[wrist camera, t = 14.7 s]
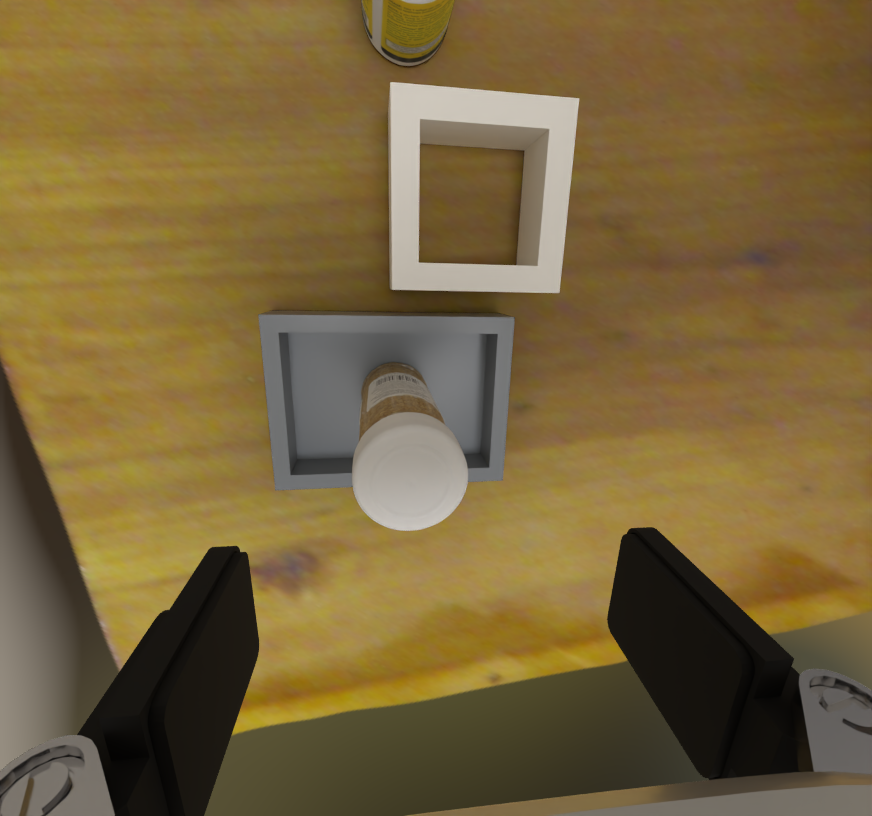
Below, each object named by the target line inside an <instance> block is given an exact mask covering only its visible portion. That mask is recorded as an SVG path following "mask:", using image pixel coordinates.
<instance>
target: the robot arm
mask: <svg viewBox="0 0 872 816" xmlns="http://www.w3.org/2000/svg"><path fill="white" fill-rule="evenodd" d="M607 620H608V626H609V629H610V632H611V634H612V635H613V637H614V639H615V640H616V642H617V643H618V645H619V647H620V648H621V650H622V651H623V653H624V655H625V656H626V658H627V659H628V661H629V663H630V664H631V666H632V667H633V669H634V671H635V672H636V674H637V675H638V677H639V678H640V680H641V682H642V683H643V685H644V687H645V688H646V690H647V691H648V693H649V695H650V696H651V698H652V699H653V701H654V703H655V704H656V706H657V707H658V709H659V711H660V712H661V714H662V715H663V717H664V718H665V720H666V722H667V723H668V725H669V726H670V728H671V730H672V731H673V733H674V734H675V736H676V738H677V739H678V741H679V742H680V744H681V746H682V747H683V749H684V750H685V752H686V754H687V755H688V757H689V758H690V760H691V762H692V763H693V765H694V766H695V768H696V769H697V771H698V772H699V773H700V774H701V775H702V776H703V777H705V778H709V780H706V781H697V782H689V783H680V784H671V785H662V786H653V787H644V788H635V789H626V790H617V791H608V792H599V793H591V794H582V795H574V796H566V797H557V798H548V799H540V800H532V801H523V802H514V803H506V804H498V805H489V806H481V807H472V808H464V809H456V810H447V811H439V812H432V813H423V814H415V815H407V816H872V690H870V689H868V688H867V687H865V686H863V685H862V684H860V683H859V682H857V681H854V680H852V679H850V678H848V677H846V676H843V675H841V674H838V673H835V672H832V671H828V670H822V669H810V670H805V671H804V672H803V673H802V674H801V675H799V673H798V672H797V671H796V670H795V669H793V668H792V667H791V666H792V663H793V660H794V658H793V657H791V655H789V653H787V652H786V651H785V650H784V649H783V648H782V647H781V646H780V645H779V644H778V643H777V642H776V641H775V640H773V638H772V637H770V636H769V635H768V634H767V633H766V632H765V631H764V630H763V629H762V628H761V627H760V626H759V625H758V624H757V623H756V622H755V621H753V620H752V619H751V618H750V617H749V616H748V615H747V614H746V613H745V612H744V611H743V610H742V609H741V608H740V607H739V606H738V605H736V604H735V603H734V602H733V601H732V600H731V599H730V598H729V597H728V596H727V595H726V594H725V593H724V592H723V591H722V590H721V589H719V588H718V587H717V586H716V585H715V584H714V583H713V582H712V581H711V580H710V579H709V578H708V577H707V576H706V575H705V574H704V573H702V572H701V571H700V570H699V569H698V568H697V567H696V566H695V565H694V564H693V563H692V562H691V561H690V560H689V559H688V558H687V557H685V556H684V555H683V554H682V553H681V552H680V551H679V550H678V549H677V548H676V547H675V546H674V545H673V544H672V543H671V542H670V541H668V540H667V539H666V538H665V537H664V536H663V535H662V534H661V533H660V532H659V531H658V530H657V529H655V528H652V527H647V528H631V529H629V531H628V532H627V534H625V535H623V537H622V539H621V544H620V550H619V556H618V561H617V567H616V572H615V578H614V583H613V589H612V595H611V600H610V606H609V611H608V619H607ZM258 652H259V637H258V629H257V622H256V614H255V606H254V598H253V591H252V583H251V575H250V567H249V560H248V555H247V553H246V552H240V549H239V547H237V546H227V547H212V548H210V549H209V550H208V552H207V553H206V555H205V556H204V558H203V559H202V561H201V562H200V564H199V565H198V567H197V568H196V570H195V571H194V573H193V575H192V576H191V578H190V579H189V581H188V582H187V584H186V585H185V587H184V588H183V590H182V591H181V593H180V594H179V596H178V598H177V599H176V601H175V602H174V604H173V605H172V607H171V608H170V610H165V611H163V612H162V613H160V614H159V615H158V616H157V618H156V619H155V620H154V622H153V623H152V625H151V626H150V628H149V629H148V631H147V632H146V634H145V635H144V637H143V638H142V639H141V641H140V642H139V644H138V645H137V647H136V648H135V650H134V651H133V653H132V654H131V656H130V657H129V659H128V660H127V662H126V663H125V665H124V666H123V668H122V669H121V671H120V672H119V674H118V675H117V677H116V678H115V679H114V681H113V683H112V684H111V685H110V687H109V688H108V690H107V691H106V693H105V694H104V696H103V697H102V699H101V700H100V702H99V703H98V705H97V706H96V708H95V709H94V711H93V712H92V714H91V715H90V716H89V718H88V719H87V721H86V723H85V724H84V725H83V727H82V728H81V730H80V731H79V733H78V734H77V735H74V736H73V735H66V736H63V737H59V738H56V739H52V740H49V741H46V742H44V743H42V744H40V745H38V746H36V747H34V748H31V749H30V750H28V751H27V752H25V753H23V754H22V755H20V756H19V757H17V758H16V759H14V760H13V761H11V762H10V763H9V764H7V765H6V766H5V767H4V768H3V769H2V770H1V771H0V816H204V814H205V811H206V808H207V805H208V802H209V799H210V796H211V793H212V791H213V788H214V785H215V782H216V779H217V776H218V773H219V770H220V767H221V764H222V761H223V758H224V755H225V752H226V749H227V746H228V743H229V740H230V737H231V735H232V732H233V729H234V726H235V723H236V720H237V717H238V714H239V711H240V708H241V705H242V702H243V699H244V696H245V693H246V690H247V687H248V684H249V681H250V679H251V676H252V673H253V670H254V667H255V664H256V661H257V657H258Z"/></svg>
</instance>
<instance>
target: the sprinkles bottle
mask: <svg viewBox="0 0 872 816" xmlns="http://www.w3.org/2000/svg"><path fill="white" fill-rule="evenodd" d="M361 395H362V401H361V407H360V417H359V425H360V432H359V443H358V445H357V447H356V449H355V453H354V457H353V466H352V485H353V491H354V495H355V497H356V500H357V502H358V503H359V505H360V507H361V508H362V510H363V511H364V512H365V513H366V514H367V515H368V516H369V517H370V518H371V519H372V520H374V521H375V522H377V523H379V524H380V525H383V526H385V527H387V528H391V529H395V530H402V531H414V530H420V529H424V528H428V527H431V526H433V525H435V524H437V523H439V522H441V521H442V520H444V519H445V518H446V517H448V516H449V515H450V514H451V513H452V512H453V511H454V510H455V509H456V507H457V506H458V505H459V503H460V502H461V500H462V498H463V496H464V494H465V491H466V488H467V483H468V467H467V462H466V459H465V456H464V454H463V451H462V449H461V447H460V445H459V443H458V441H457V439H456V438H455V436H454V434H453V433H452V431H451V430H450V429H449V428H448V427H447V426H446V425H445V422H444V419H443V417H442V415H441V413H440V411H439V409H438V407H437V405H436V403H435V401H434V399H433V397H432V395H431V393H430V391H429V390H428V388H427V385H426V382H425V380H424V379H423V377H422V375H421V374H420V373H419V372H418V371H417V370H416V369H414V368H413V367H411V366H409V365H407V364H403V363H396V362H391V363H387V364H383V365H380V366H379V367H377V368H376V369H374V370H373V371H371V372H370V374H369V375H368V376H367V377H366V379H365V380H364V383H363V386H362V390H361Z"/></svg>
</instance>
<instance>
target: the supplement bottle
mask: <svg viewBox="0 0 872 816" xmlns="http://www.w3.org/2000/svg"><path fill="white" fill-rule="evenodd" d="M454 1H455V0H361V2H362V3H361V4H362V16H363V22H364V26H365V29H366V32H367V35H368V37H369V39H370V40H371V42H372V44H373V45H374V47H375V48H376V49H377V50H378V51H379V52H380V53H381V54H382V55H383V56H384V57H385V58H387V59H388V60H390V61H392V62H393V63H396V64H399V65H403V66H414V65H418V64H421V63H423V62H425V61H426V60H428V59H429V58H431V57H432V56H433V55H434V54H435V52H436V51H437V50H438V48H439V47H440V45H441V43H442V41H443V39H444V37H445V34H446V31H447V27H448V23H449V19H450V15H451V12H452V8H453V5H454Z"/></svg>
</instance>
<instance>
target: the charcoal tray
mask: <svg viewBox="0 0 872 816" xmlns="http://www.w3.org/2000/svg"><path fill="white" fill-rule="evenodd" d="M258 316H259V326H260V336H261V347H262V357H263V367H264V378H265V388H266V398H267V409H268V419H269V429H270V440H271V450H272V460H273V471H274V481H275V490H295V489H317V488H340V487H353V485H352V466H353V457H354V453H355V449H356V447H357V445H358V443H359V432H360V425H359V417H360V407H361V401H362V395H361V390H362V386H363V383H364V380H365V379H366V377H367V376H368V375H369V374H370V372H371V371H373V370H374V369H376V368H377V367H379V366H380V365H383V364H387V363H391V362H396V363H403V364H407V365H409V366H411V367H413V368H414V369H416V370H417V371H418V372H419V373H420V374H421V375H422V377H423V379H424V380H425V382H426V385H427V388H428V390H429V391H430V393H431V395H432V397H433V399H434V401H435V403H436V405H437V407H438V409H439V411H440V413H441V415H442V417H443V419H444V422H445V425H446V426H447V427H448V428H449V429H450V430H451V431H452V433H453V434H454V436H455V438H456V439H457V441H458V443H459V445H460V447H461V449H462V451H463V454H464V456H465V459H466V462H467V467H468V482H478V481H501V480H503V470H504V456H505V443H506V429H507V416H508V402H509V388H510V375H511V361H512V348H513V334H514V321H515V317H511V316H507V315H503V314H500V313H437V312H358V311H279V310H272V311H269V312H265V313H262V314H258Z"/></svg>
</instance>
